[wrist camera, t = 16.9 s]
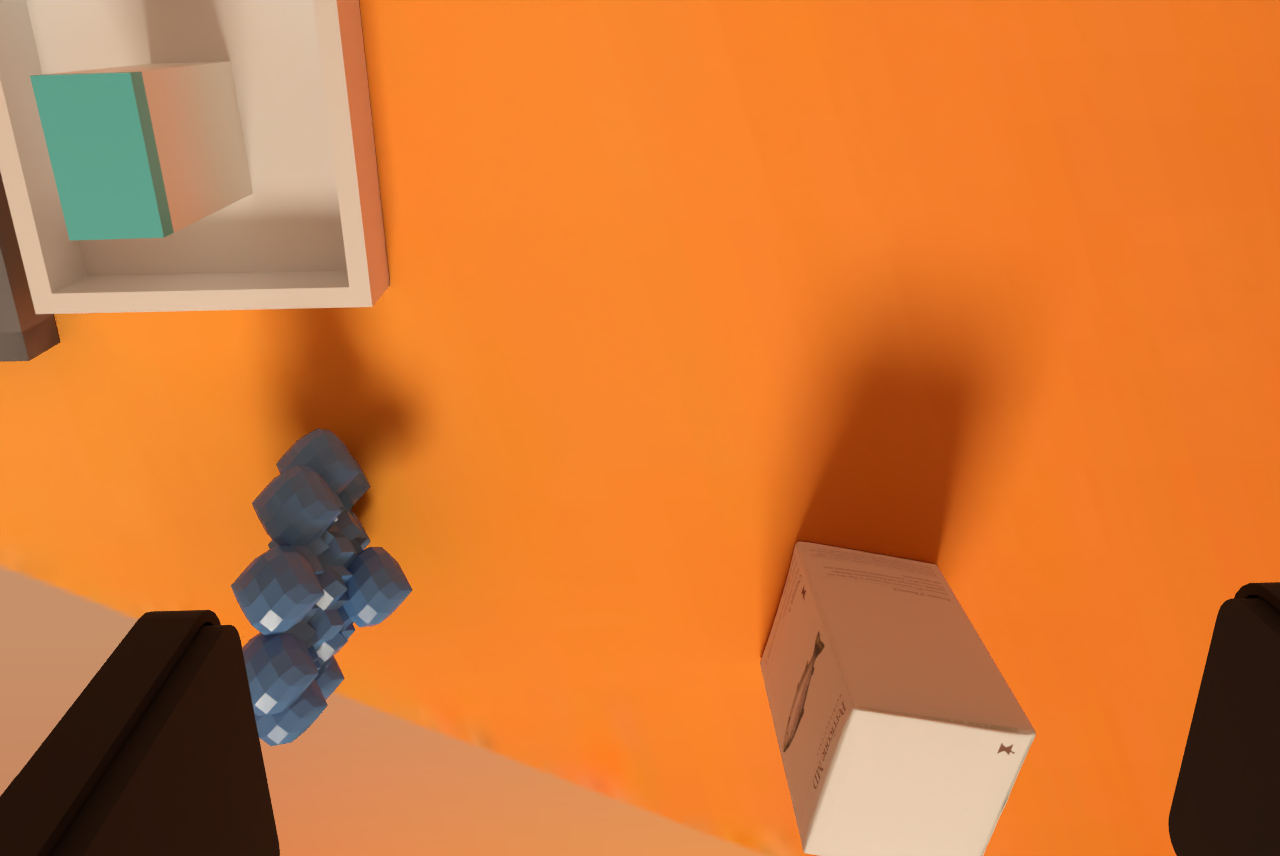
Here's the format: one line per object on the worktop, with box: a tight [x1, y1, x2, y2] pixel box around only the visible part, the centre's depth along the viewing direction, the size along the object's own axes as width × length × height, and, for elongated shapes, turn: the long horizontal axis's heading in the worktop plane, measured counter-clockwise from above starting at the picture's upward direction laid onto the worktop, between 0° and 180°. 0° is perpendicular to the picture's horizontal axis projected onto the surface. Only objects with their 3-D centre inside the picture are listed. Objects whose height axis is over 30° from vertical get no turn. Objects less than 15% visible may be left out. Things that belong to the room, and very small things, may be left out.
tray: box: [0, 0, 390, 314], centre depth 38 cm, size 13×13×4 cm
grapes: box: [231, 429, 412, 746], centre depth 41 cm, size 12×7×12 cm, turn 173°
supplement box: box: [760, 541, 1036, 856], centre depth 44 cm, size 7×7×13 cm
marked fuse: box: [30, 61, 253, 241], centre depth 35 cm, size 5×3×9 cm, turn 1°
